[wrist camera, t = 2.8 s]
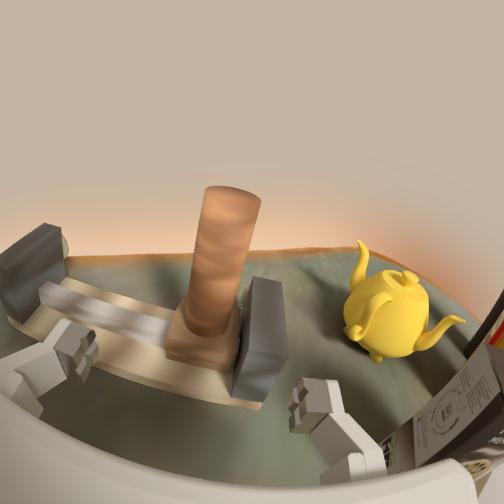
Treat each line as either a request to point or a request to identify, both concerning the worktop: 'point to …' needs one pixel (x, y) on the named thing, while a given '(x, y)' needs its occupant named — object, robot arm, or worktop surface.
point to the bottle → (485, 326)
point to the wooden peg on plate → (214, 281)
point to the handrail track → (138, 352)
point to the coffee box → (456, 421)
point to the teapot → (389, 312)
